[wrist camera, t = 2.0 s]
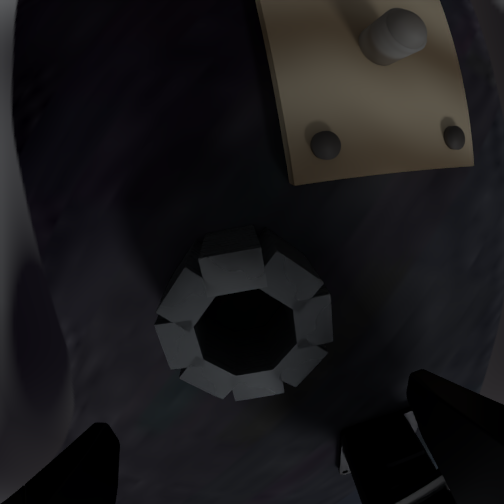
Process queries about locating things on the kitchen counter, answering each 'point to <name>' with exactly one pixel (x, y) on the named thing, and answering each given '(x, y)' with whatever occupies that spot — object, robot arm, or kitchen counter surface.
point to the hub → (252, 340)
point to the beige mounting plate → (365, 87)
